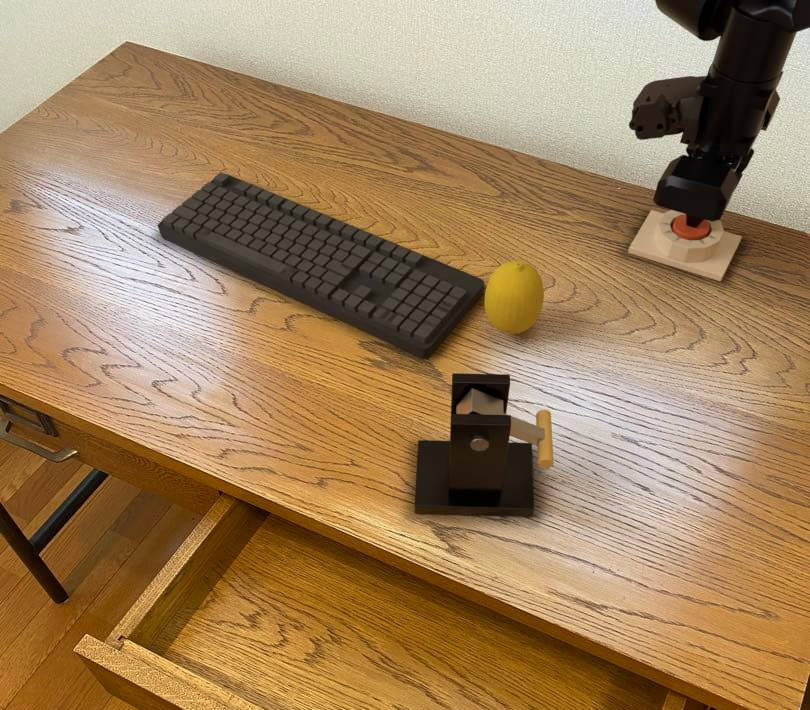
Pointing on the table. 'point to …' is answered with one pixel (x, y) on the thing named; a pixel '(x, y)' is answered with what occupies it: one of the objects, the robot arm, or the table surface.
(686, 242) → the beige button base
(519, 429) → the lever
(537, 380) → the table surface
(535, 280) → the lemon
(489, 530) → the table surface
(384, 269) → the keyboard
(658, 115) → the robot arm
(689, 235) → the button
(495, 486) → the black upright frame
